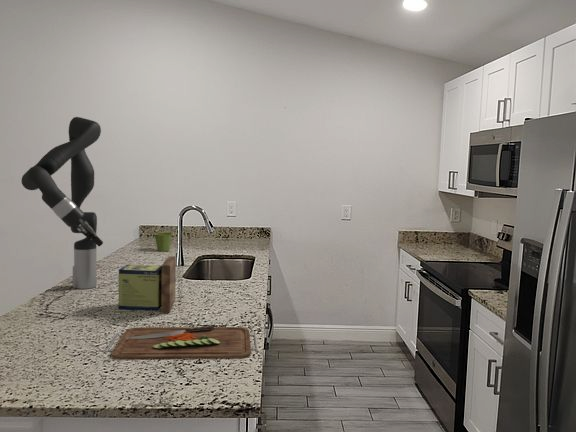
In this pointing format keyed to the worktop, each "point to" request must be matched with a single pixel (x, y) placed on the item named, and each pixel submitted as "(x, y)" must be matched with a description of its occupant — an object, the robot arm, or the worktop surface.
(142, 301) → the protein box
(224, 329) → the chopping board
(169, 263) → the board
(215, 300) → the worktop surface
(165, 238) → the plant pot
